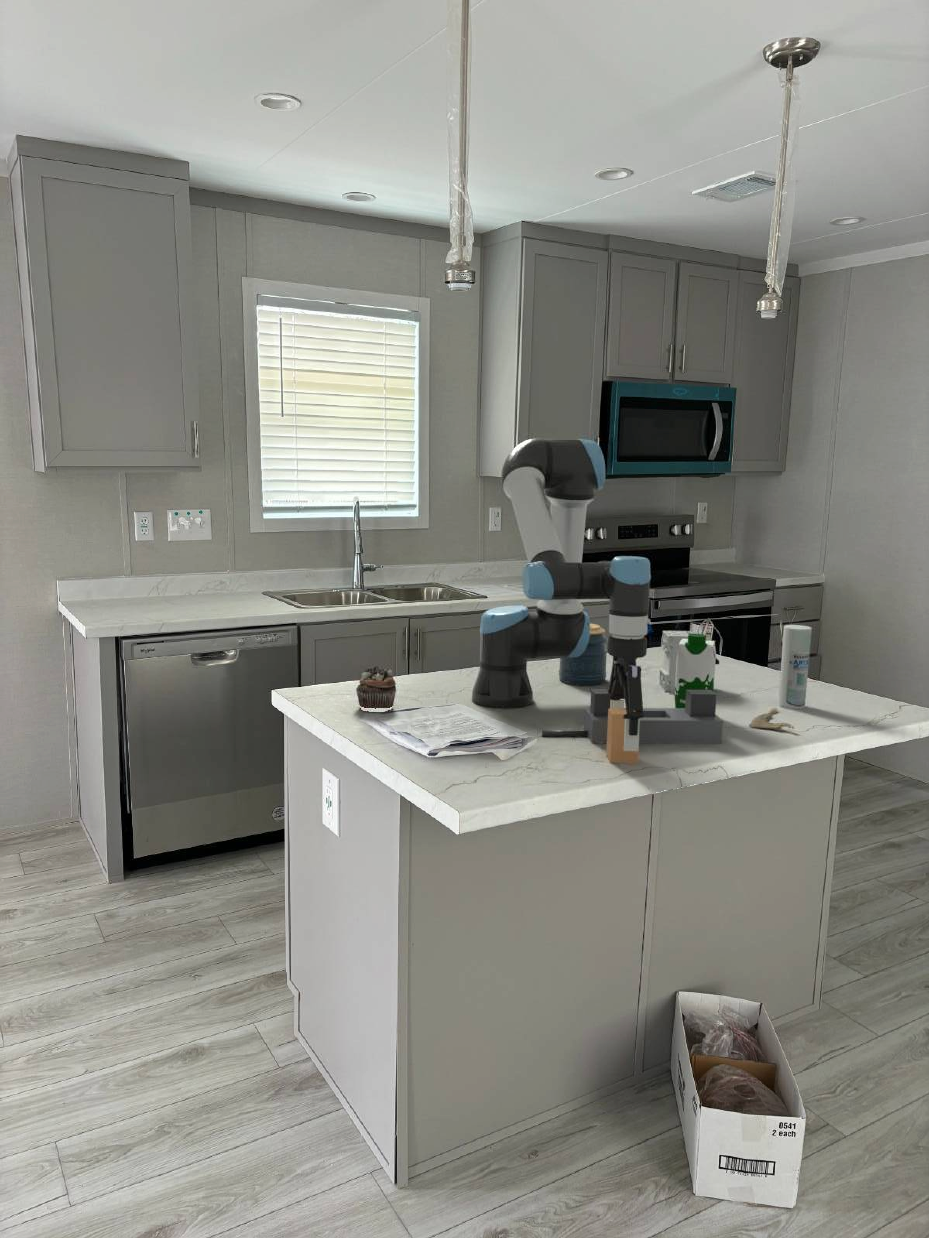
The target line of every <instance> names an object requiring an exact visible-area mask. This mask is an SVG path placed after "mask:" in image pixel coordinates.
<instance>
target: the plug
mask: <svg viewBox="0 0 929 1238" xmlns="http://www.w3.org/2000/svg"><path fill="white" fill-rule="evenodd" d="M624 714H627V713H626V709H608V727H607V743H606V756H605V757H606V758H607V760H608V762H609V763H610V764H639V762H638V761H639V750H638V751H624V731H625V719H623V716H624Z"/></svg>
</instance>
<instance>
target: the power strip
mask: <svg viewBox="0 0 929 1238" xmlns="http://www.w3.org/2000/svg"><path fill="white" fill-rule="evenodd" d="M608 689H609V688H607V689H606V688H602V689H601V688H599V689H598V688H592V689H590V707H584V710H583V711H584V713H583V730H552V729H551V730H545V729H543V730H541V737H587V738H588V739H589V740H590V742H591V743H592V744H607V727H608V709H610V700H612V699H610V694H609V693H608ZM717 695H718V694H716V692H713V691H712V690H686V699H685V708H675V707H643V714H644V716H643V718H640V728H639V744H722V743H723V726H724V720H723V719H722V718H720V717H719V716H718V715H717V714H716V710H717ZM624 709H626V707H624Z"/></svg>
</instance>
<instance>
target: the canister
mask: <svg viewBox="0 0 929 1238" xmlns="http://www.w3.org/2000/svg"><path fill="white" fill-rule="evenodd" d="M589 627H590V636H589V641H588V644H587V647H586V649H585V651H584V652H583V653H582V654H581V655H580V656H578V657H572V658H566V659H561V658H559V670H558V677H559V680H560V681H561V682H563V683H565V684H569V685H575V686H595V685H601V684H604V683H606V678H607V654H608V649H607V647H606V645H607V644H606V643H608V638H607V636H605V633H606V629H604V628H603V627H601V626H600V625H599V624H595V623H590V626H589Z"/></svg>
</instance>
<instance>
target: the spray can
mask: <svg viewBox="0 0 929 1238" xmlns="http://www.w3.org/2000/svg"><path fill="white" fill-rule="evenodd" d="M812 630H813V629H812V627H810V626H808V625H801V624H800V625H798V624H786V625H784V626H783V635H782V649H781V662H780V663H781V665H780V676H779V678H780V679H779V690H778V691H779V692H778V693H779V694H778V706H779V707H780V708H784V709H788V710H803V709H805V706H806V697H807V687H808V675H809V664H810V654H811V653H810V652H811V643H812V642H811V641H812Z"/></svg>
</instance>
